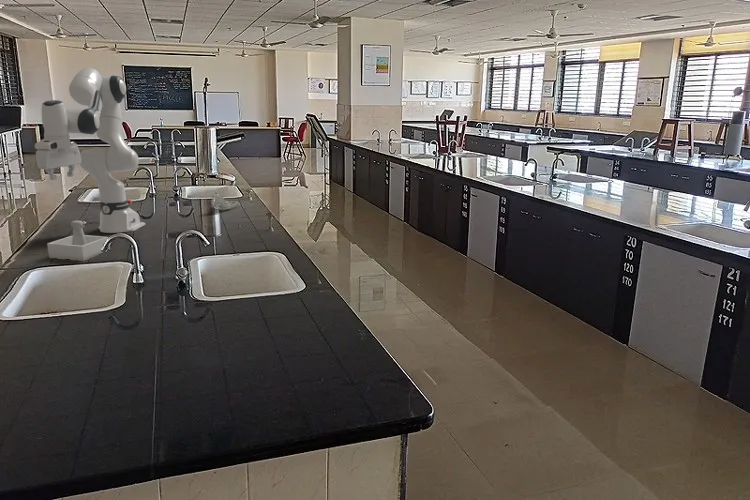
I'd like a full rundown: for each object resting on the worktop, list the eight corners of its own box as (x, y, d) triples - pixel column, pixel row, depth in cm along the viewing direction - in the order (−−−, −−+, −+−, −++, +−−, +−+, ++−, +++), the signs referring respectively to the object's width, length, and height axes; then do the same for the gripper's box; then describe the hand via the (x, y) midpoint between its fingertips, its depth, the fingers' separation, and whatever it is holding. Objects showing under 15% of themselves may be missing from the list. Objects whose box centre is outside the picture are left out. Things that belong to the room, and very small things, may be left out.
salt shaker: (73, 250, 240) (69, 219, 236) (88, 249, 242) (85, 219, 238) (71, 254, 234) (67, 222, 231) (87, 253, 236) (83, 222, 233)
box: (77, 247, 247) (75, 234, 246) (110, 250, 244) (108, 236, 242) (49, 258, 232) (47, 243, 231) (83, 261, 229) (82, 246, 227)
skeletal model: (241, 206, 342) (233, 182, 320) (239, 219, 338) (231, 196, 316) (213, 205, 342) (204, 181, 320) (211, 218, 338) (201, 195, 315)
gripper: (69, 140, 239) (73, 174, 242) (31, 144, 219) (36, 181, 223) (83, 141, 237) (87, 174, 241) (45, 145, 218) (50, 182, 222)
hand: (62, 178), depth 232 cm, fingers open, 8 cm apart
